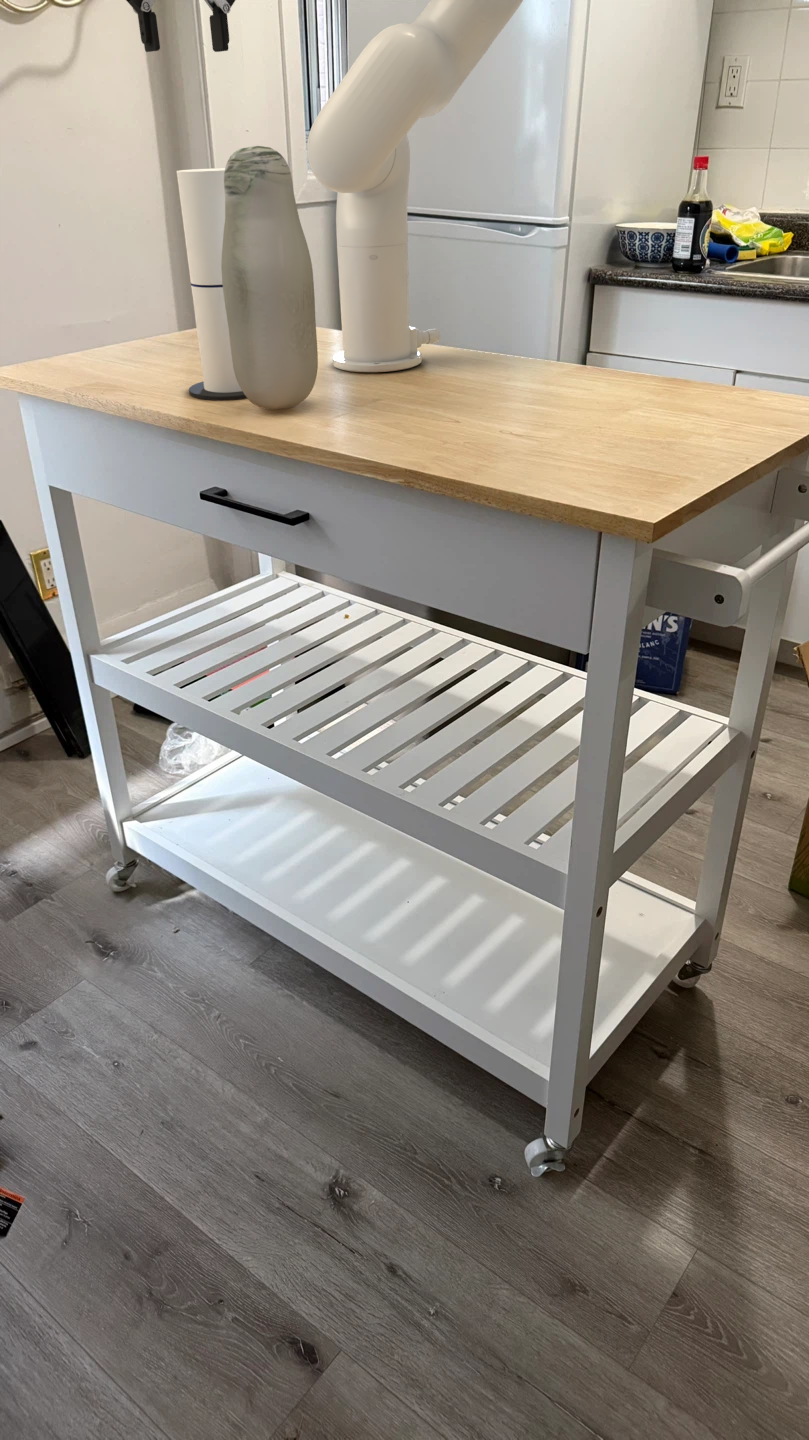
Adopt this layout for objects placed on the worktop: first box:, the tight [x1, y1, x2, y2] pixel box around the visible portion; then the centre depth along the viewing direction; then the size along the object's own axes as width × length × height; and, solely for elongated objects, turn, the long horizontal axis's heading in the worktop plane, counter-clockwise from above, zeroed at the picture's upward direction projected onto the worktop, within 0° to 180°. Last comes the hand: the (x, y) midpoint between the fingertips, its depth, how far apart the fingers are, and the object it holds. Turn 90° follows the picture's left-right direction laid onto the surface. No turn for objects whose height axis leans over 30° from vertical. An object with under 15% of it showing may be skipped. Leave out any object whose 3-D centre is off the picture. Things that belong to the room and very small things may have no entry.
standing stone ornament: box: [221, 145, 319, 411], centre depth 119 cm, size 10×10×28 cm
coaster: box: [188, 381, 248, 401], centre depth 134 cm, size 11×11×1 cm
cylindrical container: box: [176, 167, 242, 393], centre depth 128 cm, size 7×7×25 cm
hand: (187, 51), depth 133 cm, fingers open, 9 cm apart
